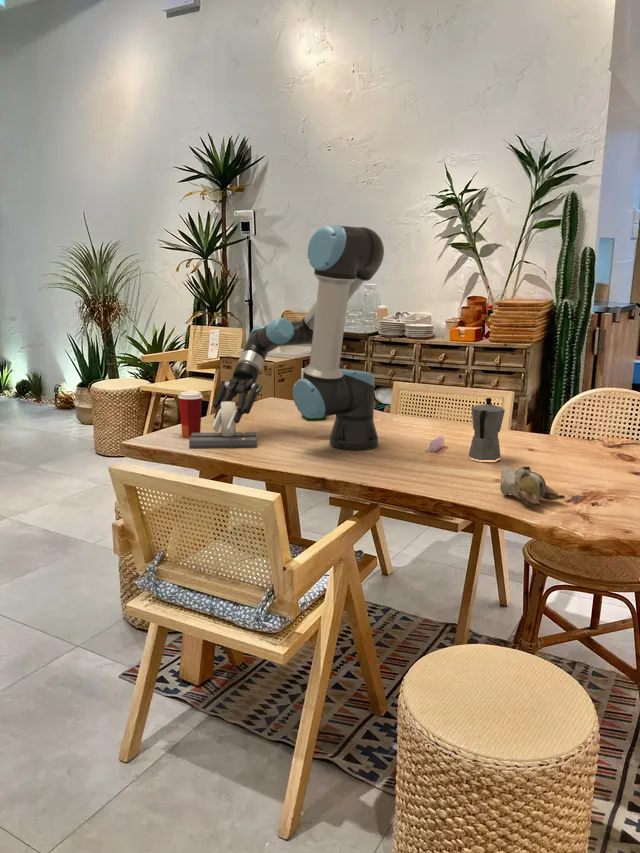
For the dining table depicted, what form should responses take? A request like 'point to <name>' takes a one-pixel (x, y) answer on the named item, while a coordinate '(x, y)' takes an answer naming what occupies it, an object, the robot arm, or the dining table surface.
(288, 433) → the dining table surface
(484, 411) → the coffeepot
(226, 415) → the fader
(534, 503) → the ceramic sculpture
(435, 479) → the dining table surface
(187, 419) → the paper cup
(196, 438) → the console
